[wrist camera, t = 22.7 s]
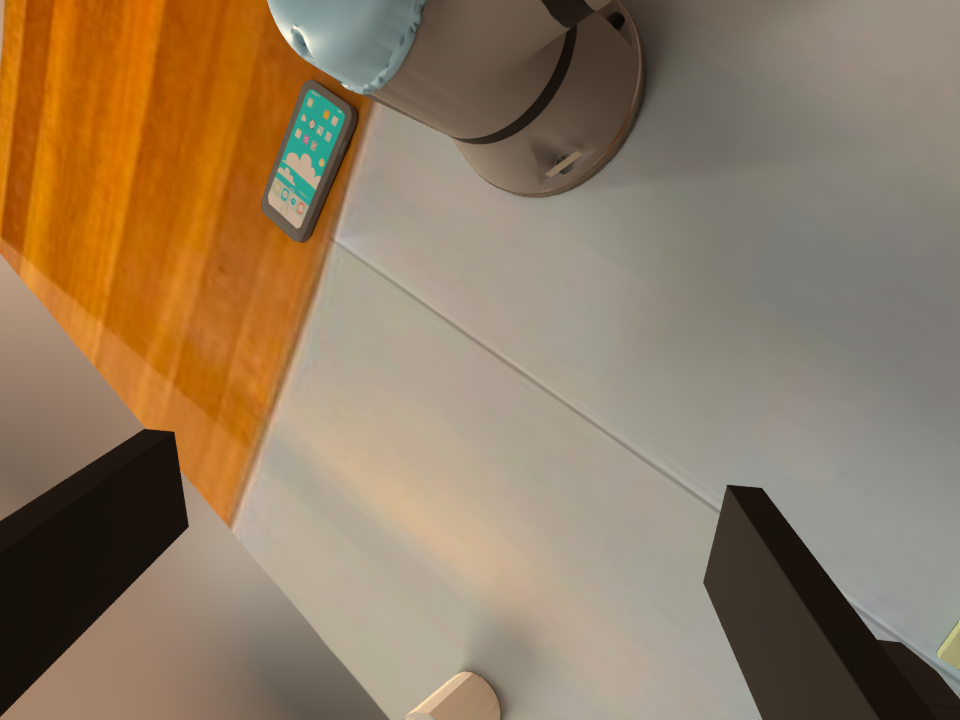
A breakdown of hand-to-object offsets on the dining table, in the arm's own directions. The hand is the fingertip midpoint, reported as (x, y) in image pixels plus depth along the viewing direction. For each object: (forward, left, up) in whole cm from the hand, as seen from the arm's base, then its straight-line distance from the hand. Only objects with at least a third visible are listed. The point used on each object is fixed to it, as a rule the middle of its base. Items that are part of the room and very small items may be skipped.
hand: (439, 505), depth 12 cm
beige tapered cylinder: (+36, -5, -29) cm, 46 cm away
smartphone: (-5, -43, -29) cm, 52 cm away
